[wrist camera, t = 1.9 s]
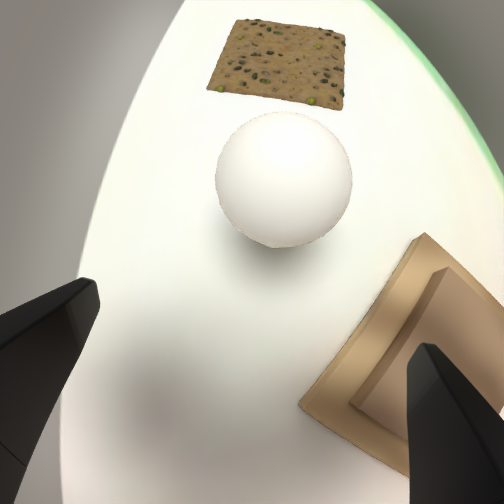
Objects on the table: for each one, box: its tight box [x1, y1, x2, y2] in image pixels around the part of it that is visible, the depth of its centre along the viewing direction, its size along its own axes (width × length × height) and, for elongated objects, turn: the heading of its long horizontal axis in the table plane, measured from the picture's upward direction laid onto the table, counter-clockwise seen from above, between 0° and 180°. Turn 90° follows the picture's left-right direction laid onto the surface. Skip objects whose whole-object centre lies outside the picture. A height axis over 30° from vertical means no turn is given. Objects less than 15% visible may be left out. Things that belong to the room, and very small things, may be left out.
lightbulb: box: [215, 112, 352, 248], centre depth 17 cm, size 6×6×11 cm
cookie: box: [206, 19, 346, 111], centre depth 26 cm, size 12×12×1 cm
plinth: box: [299, 232, 504, 478], centre depth 17 cm, size 14×14×4 cm
